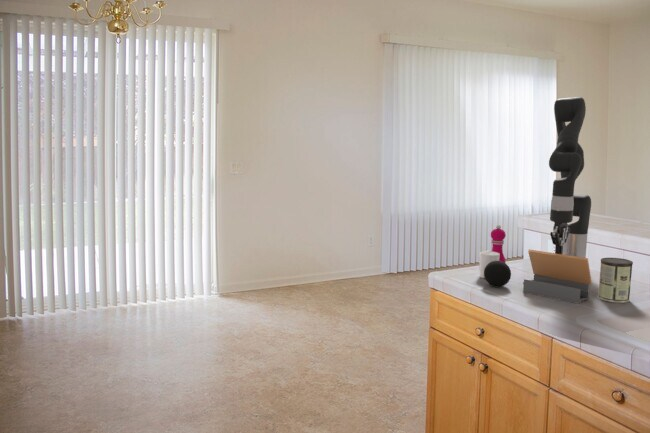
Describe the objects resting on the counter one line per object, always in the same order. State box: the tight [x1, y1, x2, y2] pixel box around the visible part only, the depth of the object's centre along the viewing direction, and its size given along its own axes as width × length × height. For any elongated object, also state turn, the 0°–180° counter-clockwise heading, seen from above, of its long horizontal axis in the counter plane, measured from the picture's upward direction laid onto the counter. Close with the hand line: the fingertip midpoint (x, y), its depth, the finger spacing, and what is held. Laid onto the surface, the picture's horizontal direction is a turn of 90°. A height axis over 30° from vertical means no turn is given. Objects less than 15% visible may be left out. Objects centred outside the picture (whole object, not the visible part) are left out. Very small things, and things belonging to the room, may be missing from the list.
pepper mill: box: [490, 224, 507, 263], centre depth 250 cm, size 7×7×20 cm
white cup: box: [478, 250, 500, 279], centre depth 241 cm, size 8×8×10 cm
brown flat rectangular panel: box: [528, 249, 593, 285], centre depth 217 cm, size 12×21×1 cm
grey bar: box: [522, 281, 589, 299], centre depth 217 cm, size 2×23×2 cm, turn 48°
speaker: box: [484, 261, 512, 288], centre depth 227 cm, size 10×10×10 cm
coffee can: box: [597, 257, 634, 304], centre depth 212 cm, size 10×10×14 cm
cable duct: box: [522, 274, 590, 304], centre depth 216 cm, size 10×20×5 cm, turn 48°
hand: (558, 255), depth 215 cm, fingers closed
